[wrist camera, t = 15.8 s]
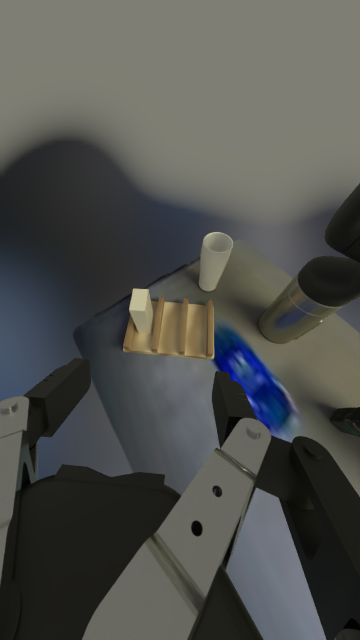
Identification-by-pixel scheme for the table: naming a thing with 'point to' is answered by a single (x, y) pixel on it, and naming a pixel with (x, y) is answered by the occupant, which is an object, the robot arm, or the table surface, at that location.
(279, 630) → the table surface
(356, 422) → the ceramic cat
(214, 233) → the drinking glass
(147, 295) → the cream rectangular block
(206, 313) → the ridged wooden tray
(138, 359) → the table surface
